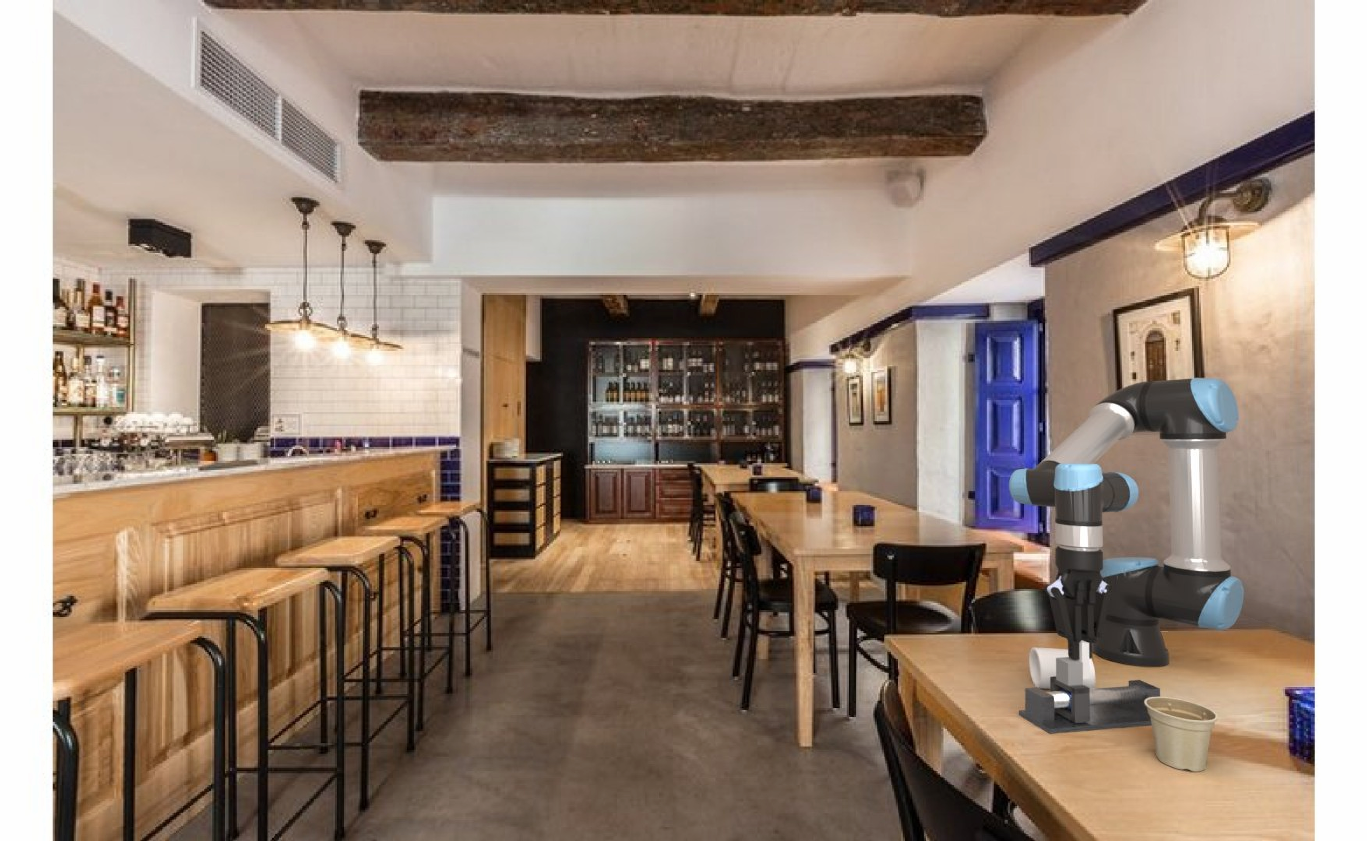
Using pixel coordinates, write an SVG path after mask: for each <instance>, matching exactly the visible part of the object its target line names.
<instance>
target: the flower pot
mask: <svg viewBox="0 0 1367 841" xmlns="http://www.w3.org/2000/svg"><path fill="white" fill-rule="evenodd" d="M1144 704H1145V706H1146V707H1147V710H1148V714H1149V715H1150V718H1151V724H1152V725H1151V729H1152V735H1153V742H1154V750H1155V755H1156V757H1157V758H1158V760H1159V761H1160V762H1161V763H1163V764H1165V765H1167V766H1169V767H1172V768H1174V769H1177V770H1181V771H1183V770H1190V772H1193V773H1194V772H1195V773H1196V772H1202V771H1204V770H1205V769H1206V766H1207V765H1206V764H1207V759H1208V752H1209V746H1210V741H1211V734H1212V729H1214V728H1215V722H1217V721H1218V720H1219V715H1218V714H1217V712H1215V711H1214V710H1212V709H1211V708H1209V707H1206V705H1205V706H1204V705H1202V704H1199V703H1197V702H1193V701H1189V700H1187V699H1185V700H1184V699H1180V698H1175V697H1169V696H1160V697H1150V698H1147V699H1145V701H1144Z"/></svg>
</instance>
